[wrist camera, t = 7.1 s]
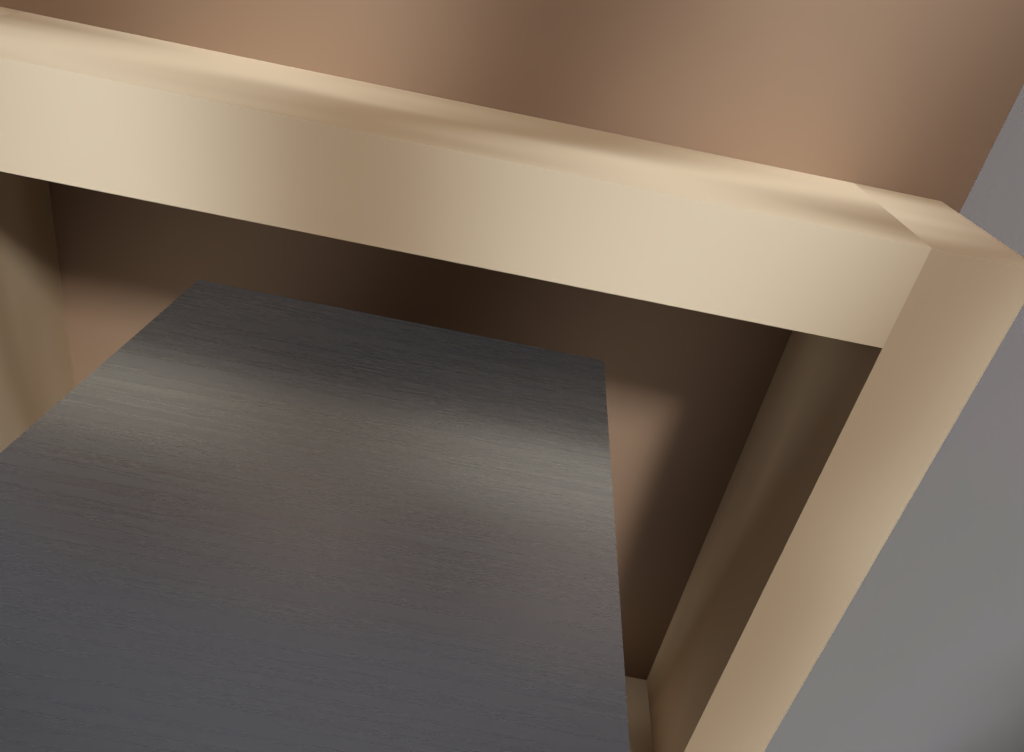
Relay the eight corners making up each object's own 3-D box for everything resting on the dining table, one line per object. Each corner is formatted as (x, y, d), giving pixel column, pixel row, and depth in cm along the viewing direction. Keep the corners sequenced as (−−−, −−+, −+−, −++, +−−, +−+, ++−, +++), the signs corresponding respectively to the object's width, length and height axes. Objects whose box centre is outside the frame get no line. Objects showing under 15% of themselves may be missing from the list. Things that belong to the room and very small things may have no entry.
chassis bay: (1153, -285, 8) (1492, -424, 5) (631, 822, 19) (642, 986, 16) (-127, -576, 8) (-571, -908, 5) (85, 723, 19) (-9, 872, 16)
